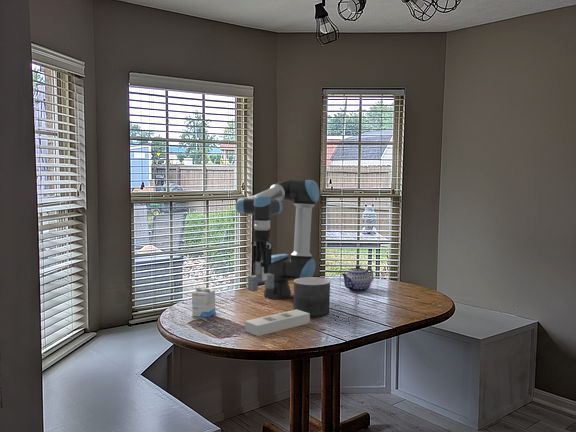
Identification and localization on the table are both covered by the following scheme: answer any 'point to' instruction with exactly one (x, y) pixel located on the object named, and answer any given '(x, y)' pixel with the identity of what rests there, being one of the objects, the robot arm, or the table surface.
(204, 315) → the ink box
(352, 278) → the teapot
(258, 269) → the clip
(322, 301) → the dark gray cylinder
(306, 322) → the rail
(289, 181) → the robot arm
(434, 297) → the table surface
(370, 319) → the table surface
